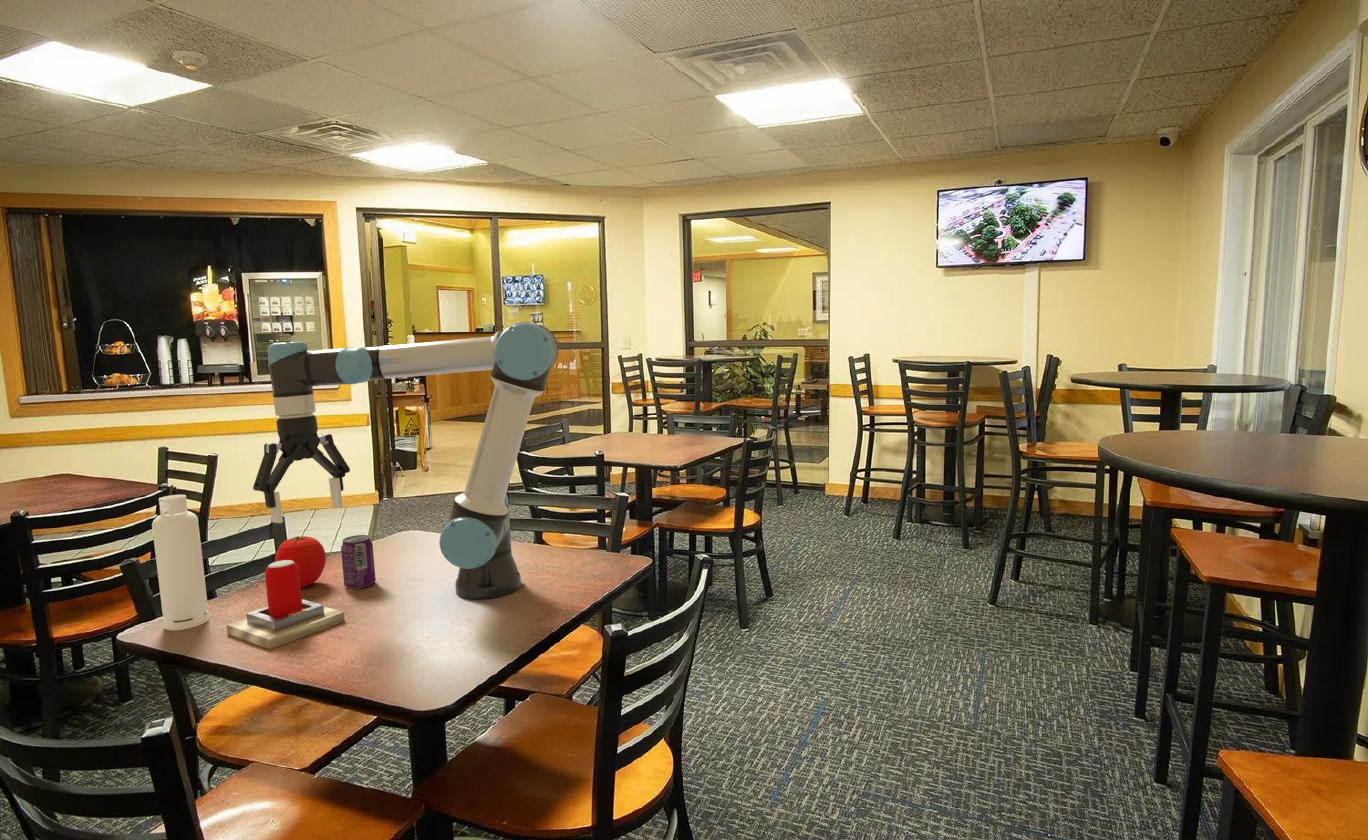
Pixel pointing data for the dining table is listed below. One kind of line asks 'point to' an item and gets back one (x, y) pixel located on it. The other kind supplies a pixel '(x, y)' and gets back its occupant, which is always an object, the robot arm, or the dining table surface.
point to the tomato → (304, 557)
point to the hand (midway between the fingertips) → (308, 514)
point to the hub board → (285, 635)
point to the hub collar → (293, 618)
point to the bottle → (179, 564)
